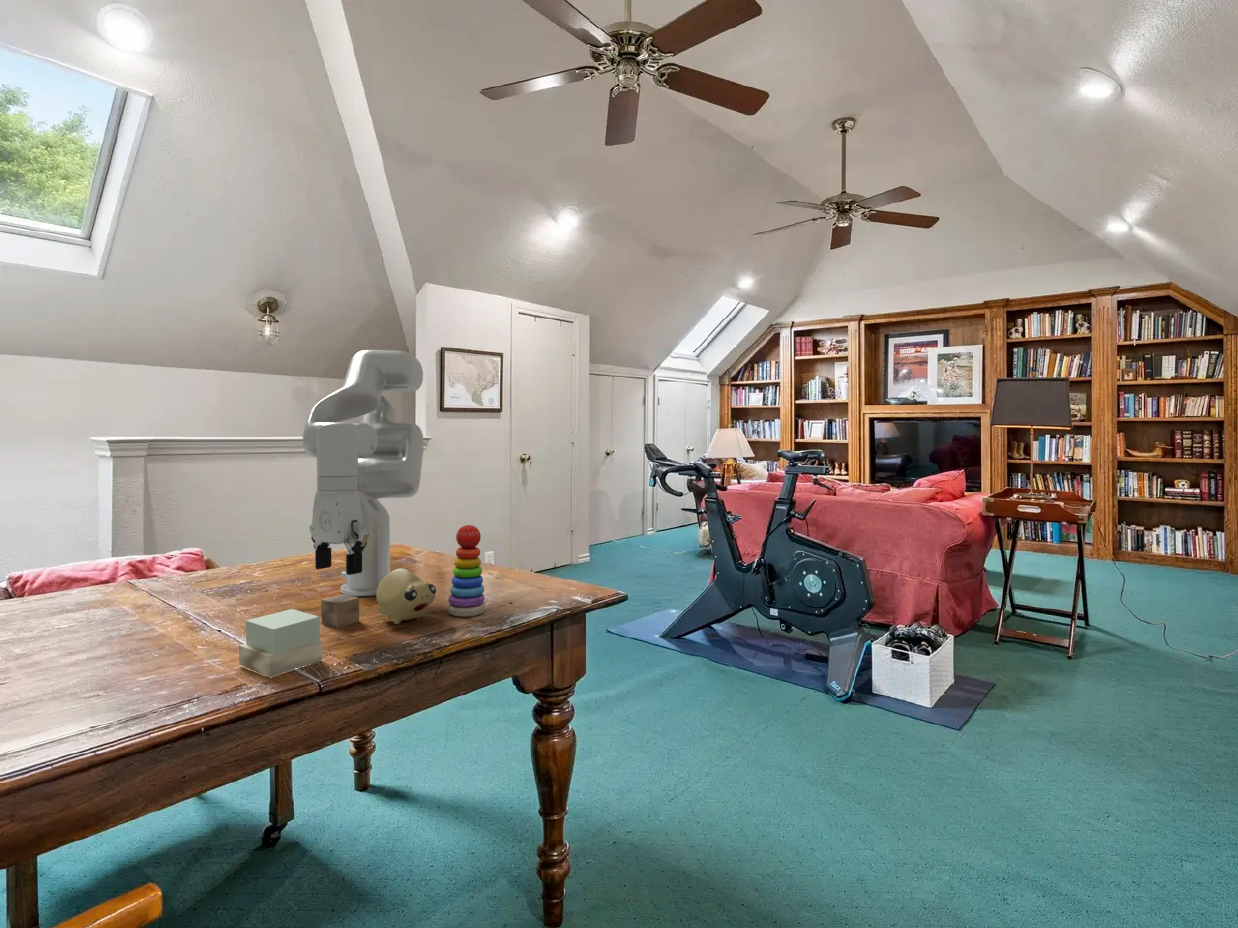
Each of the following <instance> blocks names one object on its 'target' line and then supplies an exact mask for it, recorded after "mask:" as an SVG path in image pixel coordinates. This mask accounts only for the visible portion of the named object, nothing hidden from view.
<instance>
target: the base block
mask: <svg viewBox="0 0 1238 928" xmlns="http://www.w3.org/2000/svg"><path fill="white" fill-rule="evenodd" d="M321 660H322V661H323V640H322V639H320V640H318V641H314V642H311V643H308V644H305V645H302V646H298V647H295V648H292V649H289V650H285V651H282V652H279V653H276V654H273V653H270V652H267V651H264V650H261V649H258V648H256V647H253V646H250V645H247V644H246V642H245V643H242V644H239V645H238V665H242V666H244V667H246V668H249V669H251V670H254V671H256V672H258V673H261V674H263V675H266V676H268V677H273V676H276V675H279V674H282V673H283V672H287V671H290V670H293V669H295V668H299V667H302V666H305V665H309V664H312V663H315V662H318V661H321ZM322 661H321V662H322ZM318 663H319V662H318ZM315 664H316V663H315ZM312 665H313V664H312ZM309 666H310V665H309Z"/></svg>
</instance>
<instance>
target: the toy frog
mask: <svg viewBox="0 0 1238 928" xmlns="http://www.w3.org/2000/svg"><path fill="white" fill-rule="evenodd" d="M436 588H437V587H436V586H435V585H434V584H433V583H429V582H425V581H423V580H422V579H421V578H420V577H419V576H418V575H416V574H415V573H413V572H411V571H410V570H409V569H406V568H403V567H398V568H396V569H394V570H390V573H389V574H387V575H386V576H385V577H384V578H383V580H382V581H381V582H380V584H379V586H378V588H377V593H376V595H375V596H376V603H377V604H378V607H379V609H378V612H379V614H380V615H386V616H387V617H390V618H391V619H392V622H393V623H394V624H395V625H399V624H401V622H402V621H409V620H413V619H416V620H417V619H420V618H421V617H422V613H423V612H424V611H425V610H426V608H427V607H428V606H429V605H431V604H432V603H433V601H435V599H436V592H437V589H436Z"/></svg>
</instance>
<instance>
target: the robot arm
mask: <svg viewBox="0 0 1238 928" xmlns="http://www.w3.org/2000/svg"><path fill="white" fill-rule="evenodd" d="M423 380H424V371H423V366H422V364H421V362H420V361H419V359H418V358H416V357H415V356H414V355H413V354H411V353H409V352H407V351H404V350H395V349H394V350H389V349H365V350H359V351H358V352H356V353H354V355H353V356H352V357H351V359H350V362H349V366H348V368H347V371H346V375H345V378H344V381H343V384H342V387H341V388H340V389H337V390H336V391H333V392H332V393H331V394H328V395H326V397H324V398H322V399H321V400H319V401H318V402H317V403H316V404H315V405H314V406H313V407H312V409H311V410H310V412H309V414H308V417H307V419H306V423H305V425H304V429H303V433H302V446H303V447H302V448H303V449H304V451H305V452H306V454H307V455H308V456H310V457H312V458H316V491H315V495H314V500H313V506H312V507H313V508H312V517H311V518H312V522H311V523H312V524H310V525H309V527H308V528H309V531H310V535H311V537H310V539H311V541H312V543H313V549H314V551H315V552H314V553H315V554H314V555H315V560H314V561H315V562H314V563H315V569H316V570H322V569H329V568H332V547H330V546H331V544H333V545H342V544H344V546H345V549H346V554H345V571H341V573H340V577H341V578H345V583H344V584H342V585H341V586H340V588H339V589H340V592H341V594H346V595H350V596H354V597H371V596H372V597H373V596H376V593H377V588H378V586H379V584H380V582H381V581H382V580H383V578H384V577H385V576H386V575H387V574H389V573H390V572H391V547H390V545H391V544H390V543H391V541H390V539H391V536H390V535H391V533H390V532H391V531H390V523H391V521H390V514H389V512H388V510H387V508H386V507H385V506H384V505H383V503H382V502H381V501H380V500H379V499H402V498H403V499H405V498H411V497H414V496H415V495H416V494H417V493H418V491H419V488H420V484H421V478H422V477H421V476H422V475H421V474H422V467H423V466H422V464H423V456H424V443H425V442H424V434H423V431H422V429H421V428H420V426H419V425H417V424H416V423H414V422H406V421H405V422H403V421H401V422H399V421H398V422H396V419H397V418H396V417H397V411H396V409H395V407H394V405H393V404H392V403H391V402H390V400H389V399H388V398H387V397H385V396H384V395H383V392H384V391H385V392H415V391H418V390H419V389H420V388H421V386H422V384H423ZM355 418H358V419H359V420H358V422H346V421H347V420H351V419H355Z"/></svg>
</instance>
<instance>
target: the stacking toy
mask: <svg viewBox="0 0 1238 928" xmlns="http://www.w3.org/2000/svg"><path fill="white" fill-rule="evenodd" d="M455 535H456V536H455V539H456V542H457V544H458V546H460V547H458V548H457V549H456V551H455V554H456V558H455V559H454V561H453V563H454V566H455V567H454V568H453V570H452V571H453V575H454V576H453V577H452V579H451V585H452V586H451V587H450V589H449V590H450V591H449V592H450V595H449V596H448V606H447V612H448V613H449V614H450V615H452V616H455V617H462V618H465V617H466V618H467V617H475V616H479V615H481V614H483V613H484V612H485V611H486V610H487V605H486V603H485V599H486V598H485V594H484V591H485V586H484V585H483V582H484V579H483V576H482V573H483V568H482V567H481V563H482V562H481V561H482V560H481V559H480V555H481V549H480V548H479V547H477V546H478V545H479V543H480V541H481V532H480V530H479V529H478V527H476V526H475V525H471V524H467V525H463V526H461V527H459V528H458V530H457V531H456V534H455Z"/></svg>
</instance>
